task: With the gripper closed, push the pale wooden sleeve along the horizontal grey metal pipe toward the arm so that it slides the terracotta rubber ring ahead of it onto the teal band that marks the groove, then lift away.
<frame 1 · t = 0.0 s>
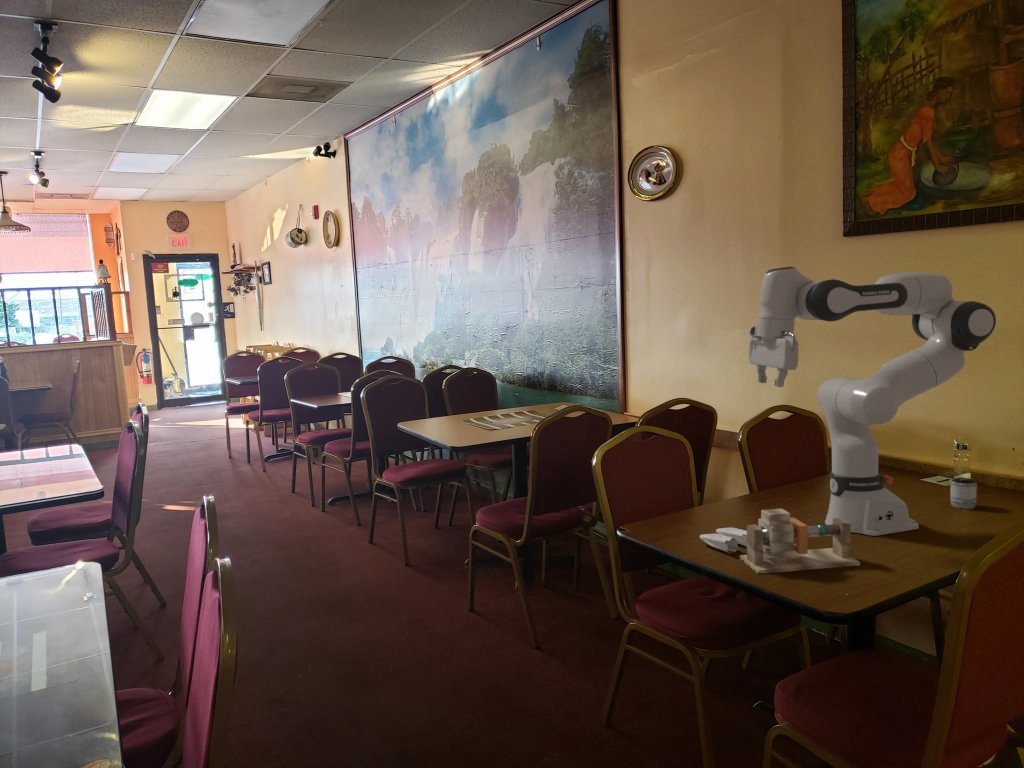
hand: (770, 384, 185), 39 cm above the table, tool pointing down, fingers open, 8 cm apart
pair of white wedges: (727, 546, 181), on the table
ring: (796, 535, 166), point 6 cm above the table, slide at 0.0 cm
pipe: (798, 532, 166), point 6 cm above the table
stand: (798, 561, 167), on the table
sleeve: (775, 531, 166), point 8 cm above the table, slide at 0.0 cm
grey cylinder: (963, 507, 204), on the table
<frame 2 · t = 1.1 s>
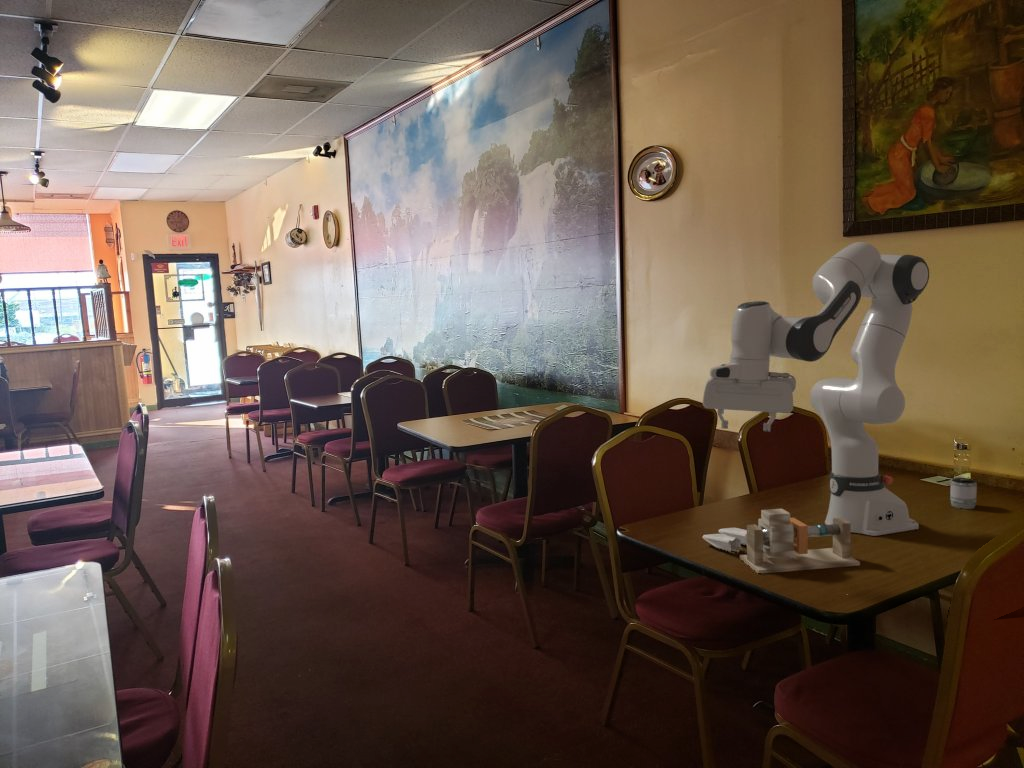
hand: (745, 429, 170), 30 cm above the table, tool pointing down, fingers open, 8 cm apart
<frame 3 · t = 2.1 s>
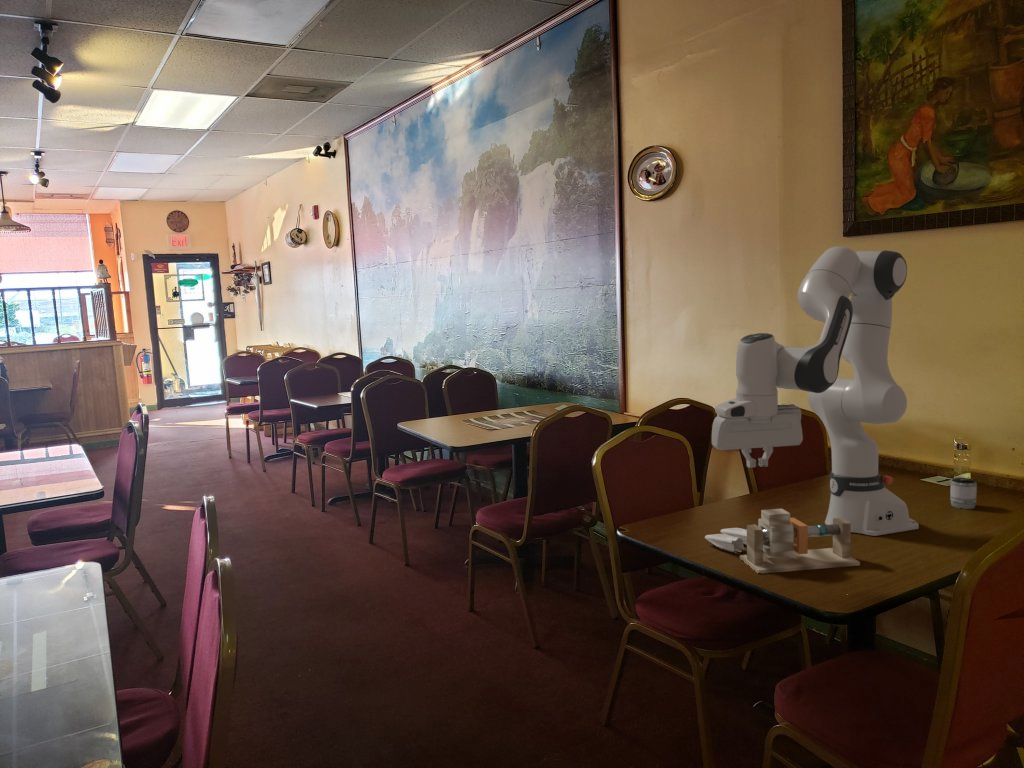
hand: (757, 466, 164), 23 cm above the table, tool pointing down, fingers closed
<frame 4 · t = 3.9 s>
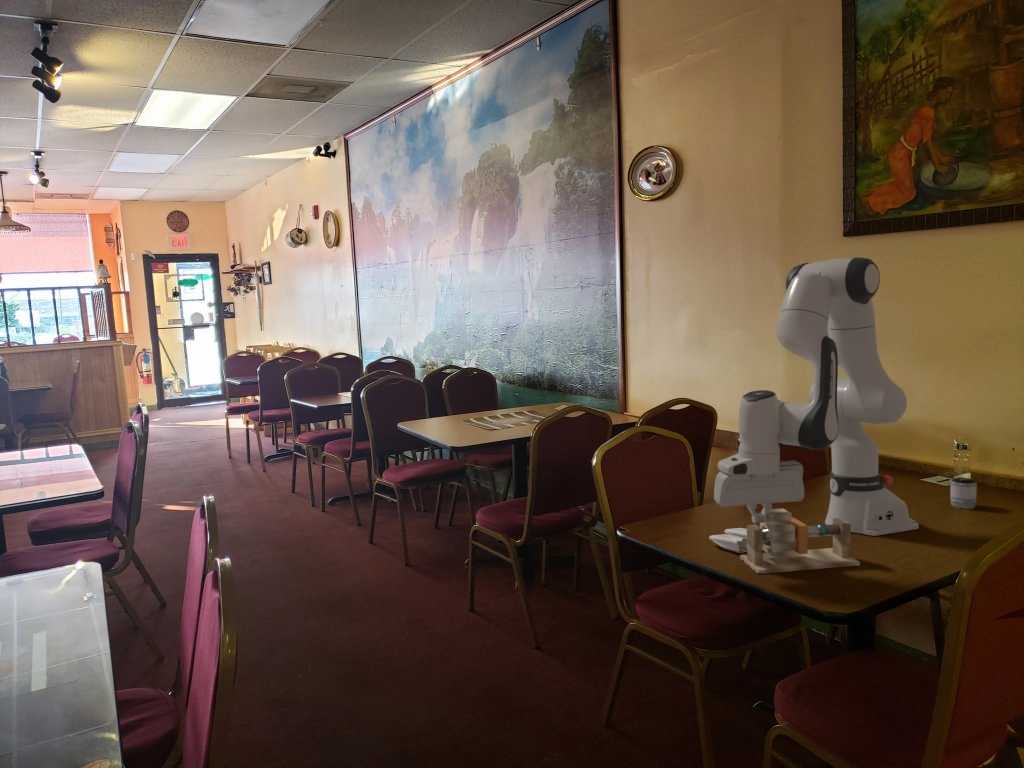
hand: (759, 522, 165), 10 cm above the table, tool pointing down, fingers closed
pair of white wedges: (737, 547, 180), on the table
sleeve: (776, 531, 166), point 8 cm above the table, slide at 0.3 cm, touching gripper
everything else where it was.
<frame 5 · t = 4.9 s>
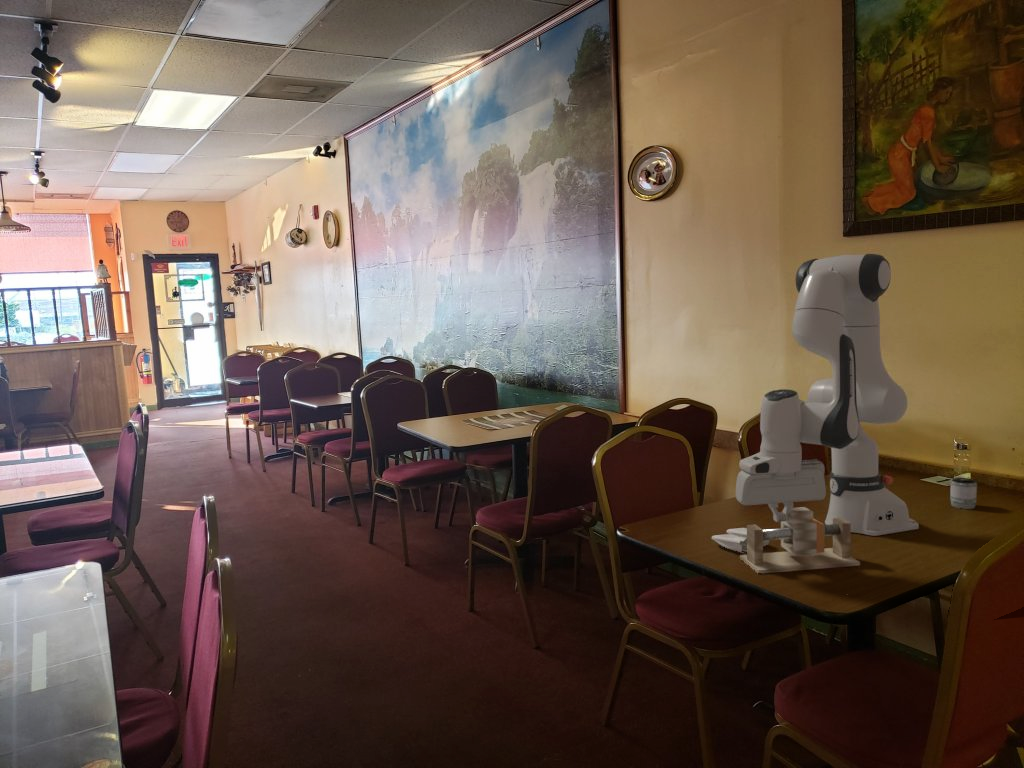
hand: (780, 520, 166), 10 cm above the table, tool pointing down, fingers closed
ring: (812, 534, 167), point 6 cm above the table, slide at 4.0 cm, touching sleeve
sleeve: (798, 530, 166), point 8 cm above the table, slide at 5.5 cm, touching gripper, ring
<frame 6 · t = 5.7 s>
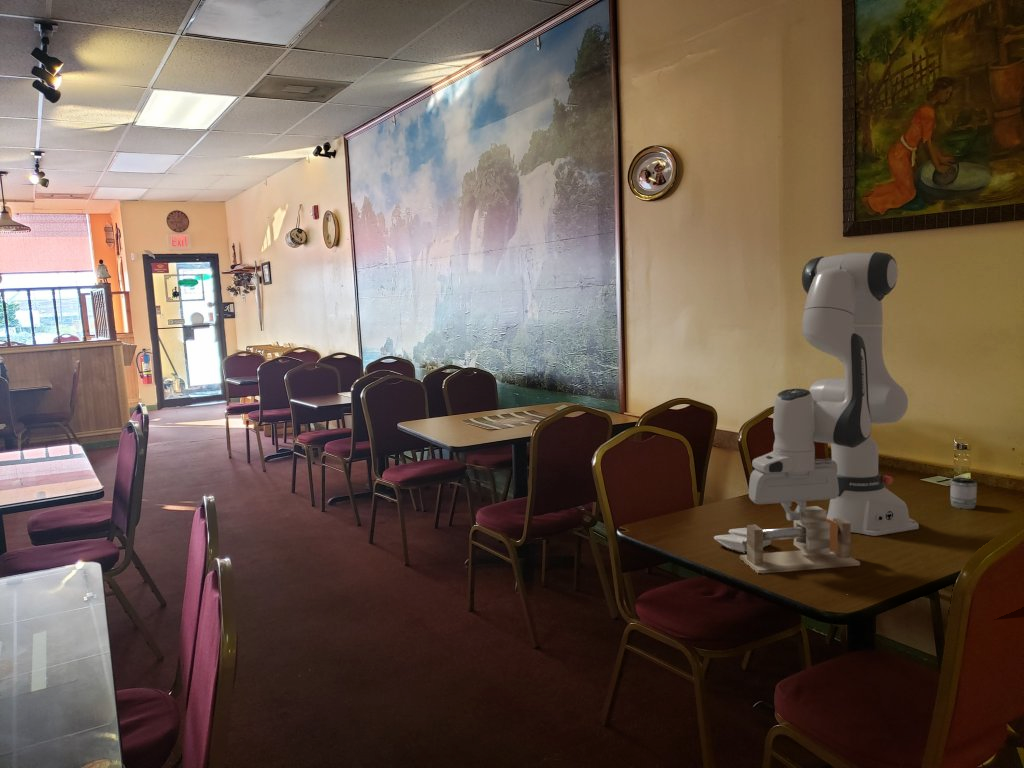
hand: (793, 519, 166), 10 cm above the table, tool pointing down, fingers closed
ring: (825, 533, 167), point 6 cm above the table, slide at 7.1 cm, touching sleeve
sleeve: (811, 529, 167), point 8 cm above the table, slide at 8.6 cm, touching gripper, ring
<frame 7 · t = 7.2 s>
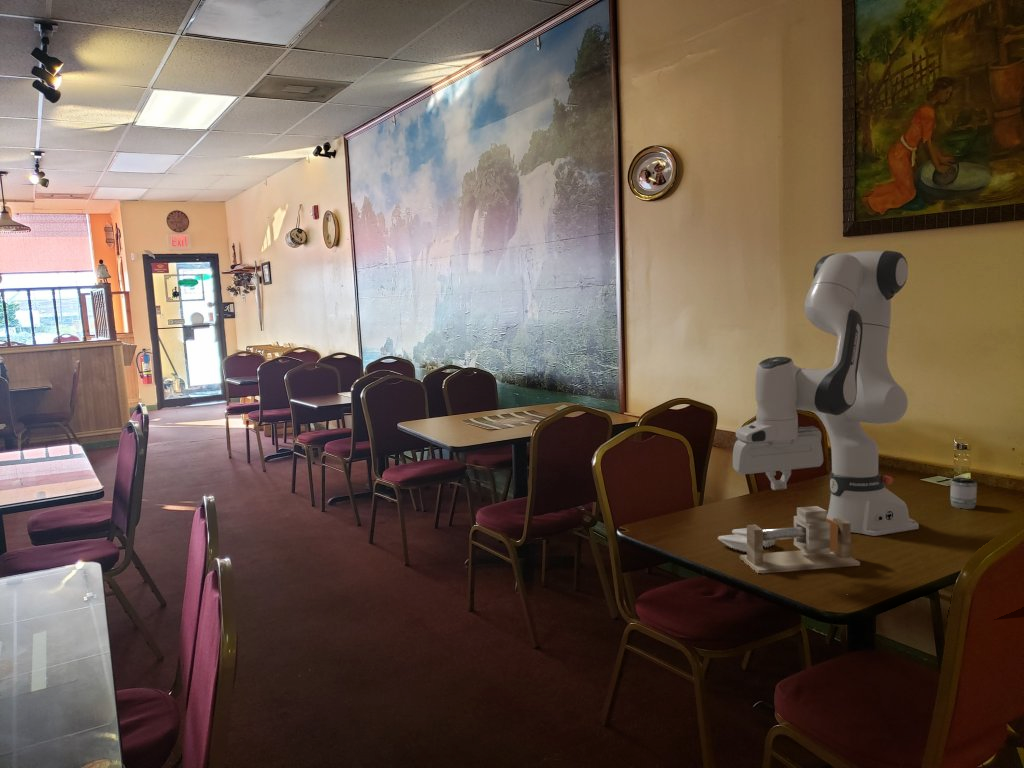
hand: (778, 488, 165), 18 cm above the table, tool pointing down, fingers closed
sleeve: (811, 529, 167), point 8 cm above the table, slide at 8.7 cm, touching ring
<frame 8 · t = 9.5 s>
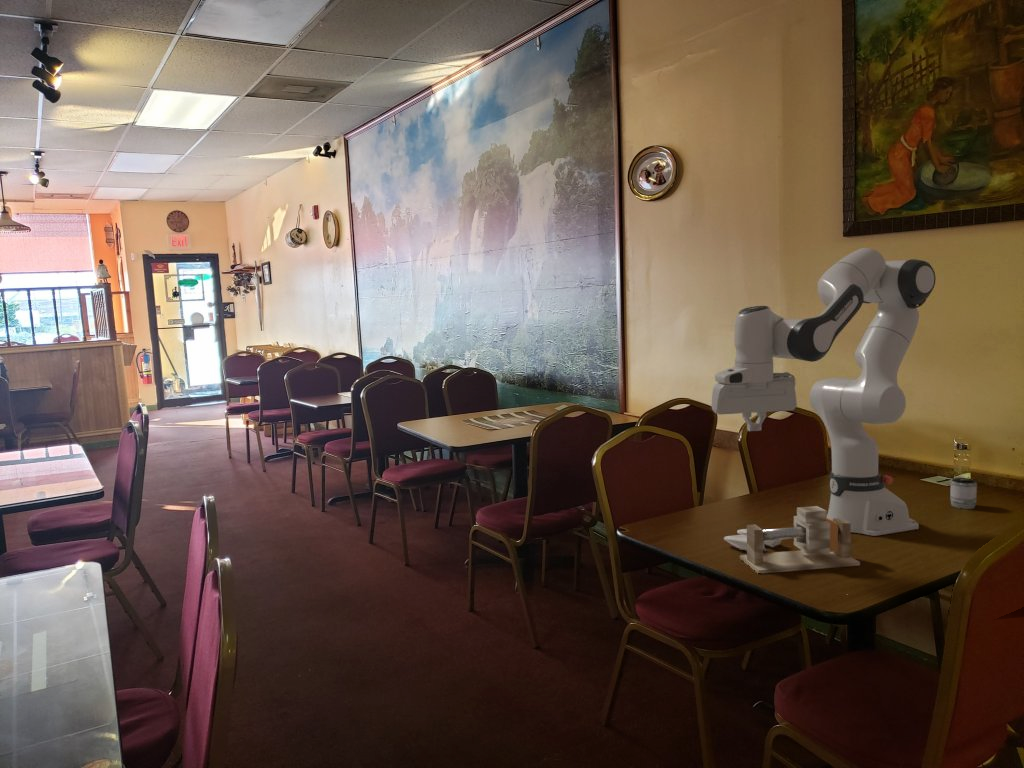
hand: (754, 430, 175), 29 cm above the table, tool pointing down, fingers closed
pair of white wedges: (751, 547, 180), on the table
everything else where it was.
at the end: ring slide at 7.2 cm; sleeve slide at 8.7 cm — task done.
